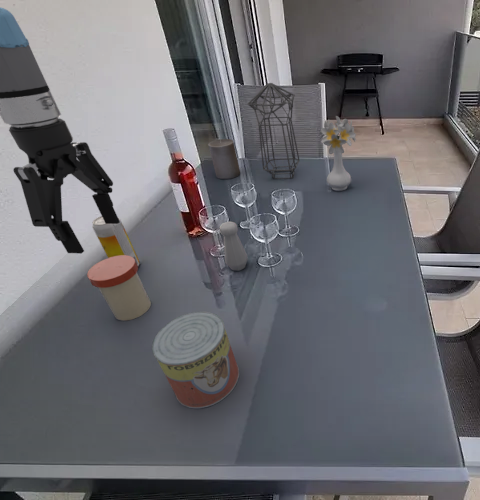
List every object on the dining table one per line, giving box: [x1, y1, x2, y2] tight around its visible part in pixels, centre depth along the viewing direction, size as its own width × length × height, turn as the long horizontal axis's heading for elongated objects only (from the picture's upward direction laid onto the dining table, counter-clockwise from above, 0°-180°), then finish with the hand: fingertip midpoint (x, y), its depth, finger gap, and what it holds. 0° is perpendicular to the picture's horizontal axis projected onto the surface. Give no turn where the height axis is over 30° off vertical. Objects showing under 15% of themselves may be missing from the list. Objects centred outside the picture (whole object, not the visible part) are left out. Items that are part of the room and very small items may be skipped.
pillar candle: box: [207, 138, 241, 180], centre depth 142 cm, size 10×10×15 cm
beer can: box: [92, 215, 140, 267], centre depth 90 cm, size 6×6×15 cm
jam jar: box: [97, 272, 152, 322], centre depth 77 cm, size 8×8×12 cm
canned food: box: [151, 311, 240, 410], centre depth 61 cm, size 11×11×12 cm
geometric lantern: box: [247, 82, 300, 180], centre depth 135 cm, size 16×16×35 cm
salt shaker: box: [219, 221, 249, 272], centre depth 90 cm, size 6×6×13 cm
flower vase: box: [319, 115, 357, 192], centre depth 125 cm, size 13×18×25 cm
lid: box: [86, 255, 139, 289], centre depth 74 cm, size 9×9×2 cm
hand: (95, 236), depth 70 cm, fingers open, 10 cm apart
